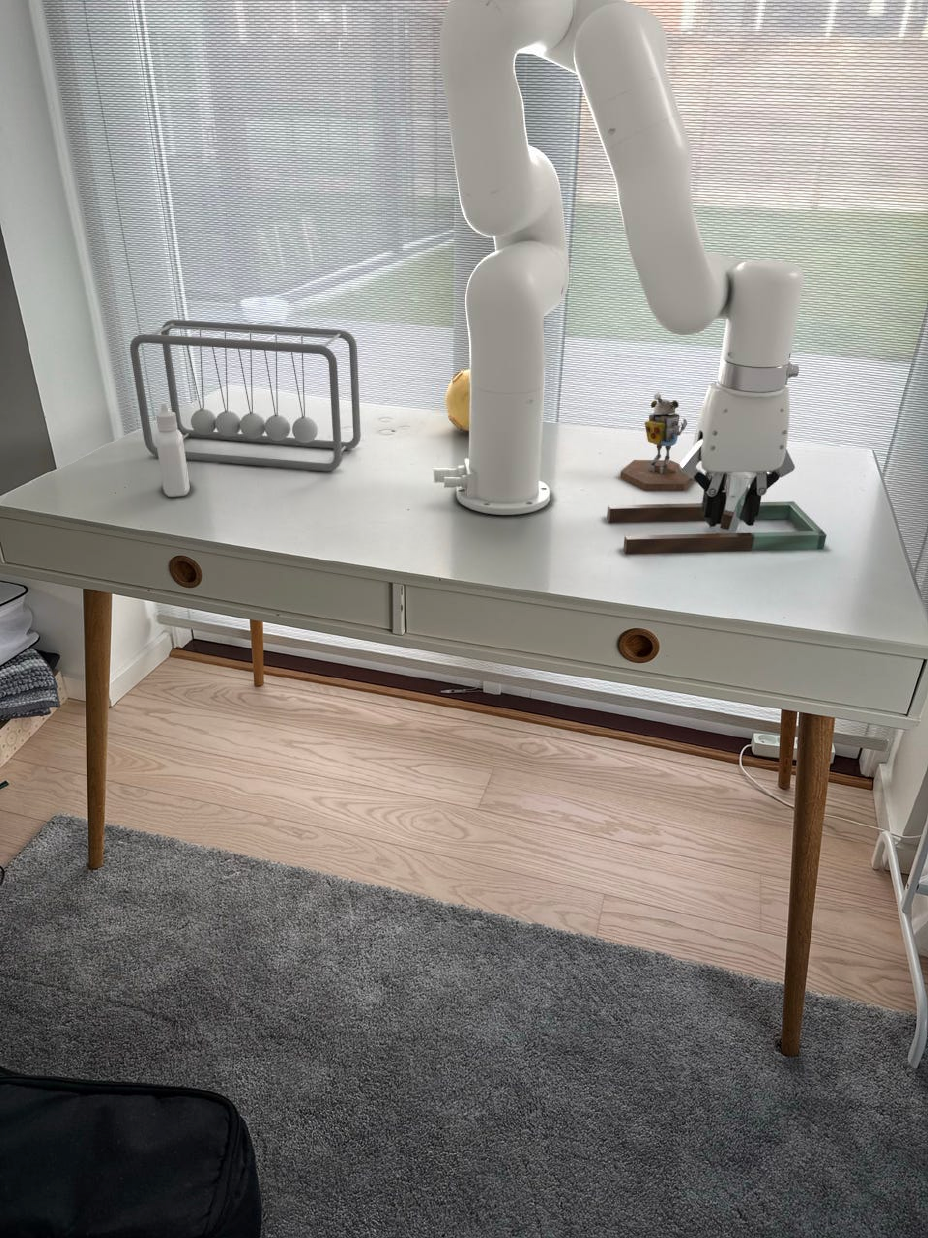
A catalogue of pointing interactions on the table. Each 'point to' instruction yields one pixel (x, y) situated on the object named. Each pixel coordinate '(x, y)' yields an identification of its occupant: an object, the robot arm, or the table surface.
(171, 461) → the eye dropper bottle
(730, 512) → the milkshake
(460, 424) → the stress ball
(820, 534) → the slide track
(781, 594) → the table surface
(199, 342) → the newton's cradle
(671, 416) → the robot figurine
